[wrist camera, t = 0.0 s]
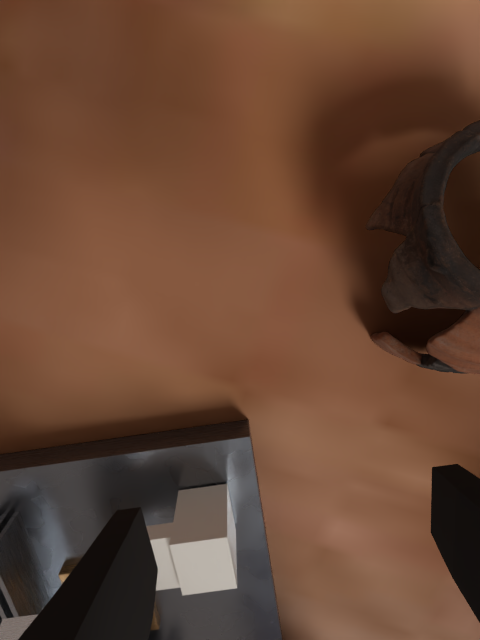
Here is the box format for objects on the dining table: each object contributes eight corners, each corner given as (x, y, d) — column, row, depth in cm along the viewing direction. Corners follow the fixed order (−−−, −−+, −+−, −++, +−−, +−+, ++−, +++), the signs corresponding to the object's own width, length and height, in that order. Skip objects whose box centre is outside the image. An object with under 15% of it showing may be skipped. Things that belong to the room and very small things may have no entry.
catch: (235, 529, 20) (237, 588, 17) (133, 543, 20) (117, 604, 17) (227, 483, 19) (227, 537, 16) (120, 498, 20) (100, 554, 16)
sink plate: (282, 640, 25) (292, 719, 22) (74, 668, 26) (48, 750, 22) (248, 419, 20) (253, 471, 16) (-13, 456, 20) (-69, 516, 17)
